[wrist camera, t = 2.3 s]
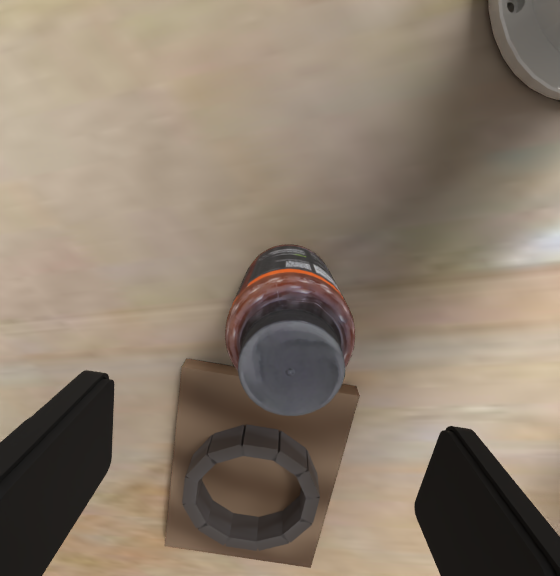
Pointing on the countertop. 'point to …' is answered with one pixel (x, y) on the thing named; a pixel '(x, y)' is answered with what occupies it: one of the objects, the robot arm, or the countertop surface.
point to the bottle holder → (251, 469)
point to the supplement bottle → (290, 332)
